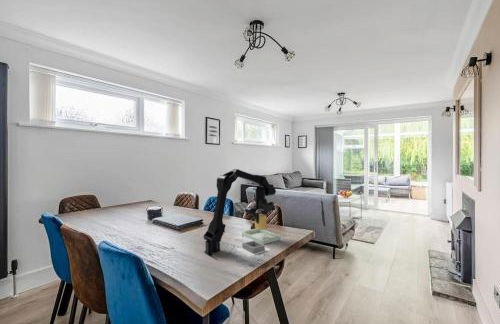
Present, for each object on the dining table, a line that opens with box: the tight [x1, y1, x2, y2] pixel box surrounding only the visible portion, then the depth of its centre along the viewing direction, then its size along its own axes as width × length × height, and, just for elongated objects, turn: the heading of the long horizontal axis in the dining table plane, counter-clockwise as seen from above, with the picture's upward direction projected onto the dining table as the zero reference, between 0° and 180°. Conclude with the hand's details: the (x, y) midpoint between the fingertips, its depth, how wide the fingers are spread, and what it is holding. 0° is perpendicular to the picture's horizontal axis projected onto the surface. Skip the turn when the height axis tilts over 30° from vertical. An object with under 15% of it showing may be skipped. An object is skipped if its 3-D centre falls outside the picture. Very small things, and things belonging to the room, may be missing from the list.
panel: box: [236, 240, 272, 257], centre depth 130 cm, size 14×12×4 cm
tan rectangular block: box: [254, 213, 267, 230], centre depth 149 cm, size 4×6×8 cm, turn 36°
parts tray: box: [241, 228, 282, 245], centre depth 150 cm, size 13×20×3 cm, turn 36°
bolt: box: [250, 222, 256, 230], centre depth 172 cm, size 6×5×15 cm
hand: (260, 223), depth 149 cm, fingers closed on tan rectangular block, 4 cm apart
